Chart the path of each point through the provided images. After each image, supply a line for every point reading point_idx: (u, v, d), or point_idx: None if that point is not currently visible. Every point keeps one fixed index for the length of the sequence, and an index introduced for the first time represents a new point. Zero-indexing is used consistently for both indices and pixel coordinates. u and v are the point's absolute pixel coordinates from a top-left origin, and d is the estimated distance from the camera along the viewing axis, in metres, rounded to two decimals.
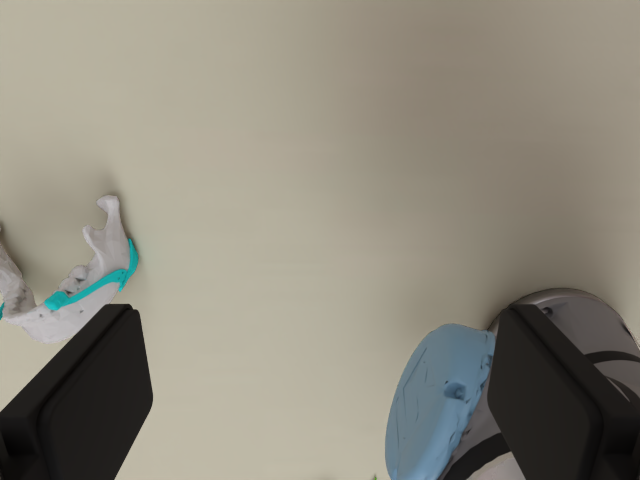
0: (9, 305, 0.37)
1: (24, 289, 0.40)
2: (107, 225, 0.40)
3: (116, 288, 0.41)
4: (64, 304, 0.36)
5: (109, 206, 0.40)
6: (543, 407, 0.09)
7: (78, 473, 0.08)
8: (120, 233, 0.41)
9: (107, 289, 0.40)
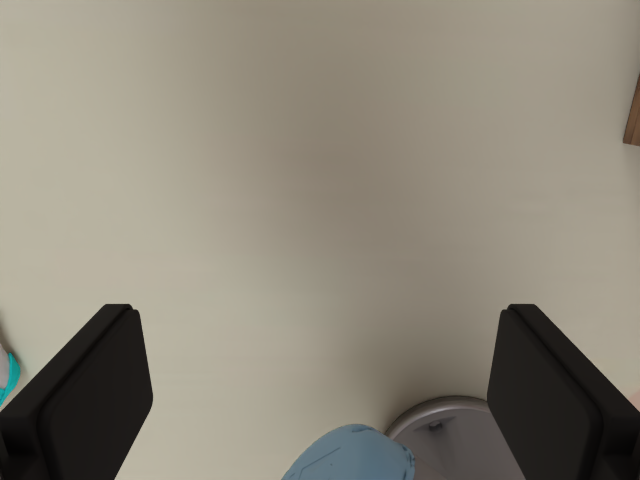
0: None
1: None
2: None
3: None
4: None
5: None
6: (543, 407, 0.09)
7: (78, 473, 0.08)
8: None
9: None
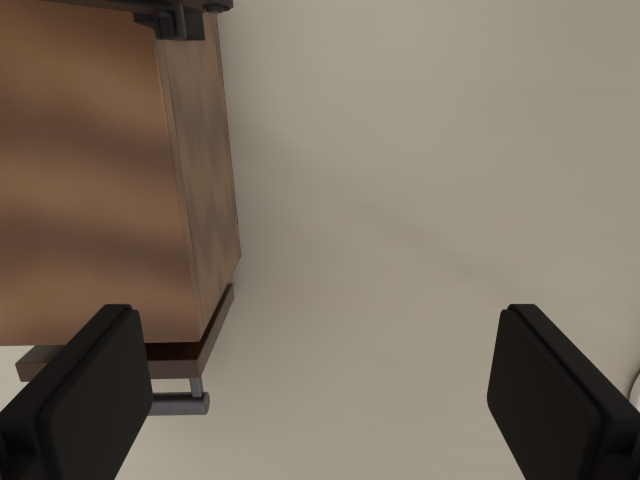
0: None
1: None
2: None
3: None
4: None
5: None
6: (543, 407, 0.09)
7: (78, 473, 0.08)
8: None
9: None
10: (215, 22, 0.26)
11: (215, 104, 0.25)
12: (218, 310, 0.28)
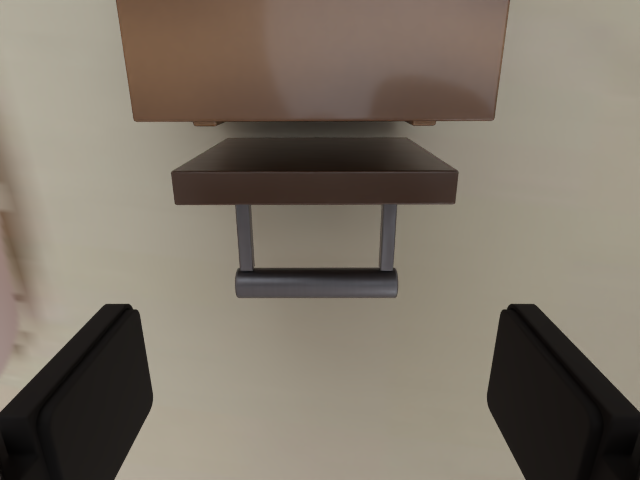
0: None
1: None
2: None
3: None
4: None
5: None
6: (543, 407, 0.09)
7: (78, 473, 0.08)
8: None
9: None
10: None
11: None
12: (421, 148, 0.19)
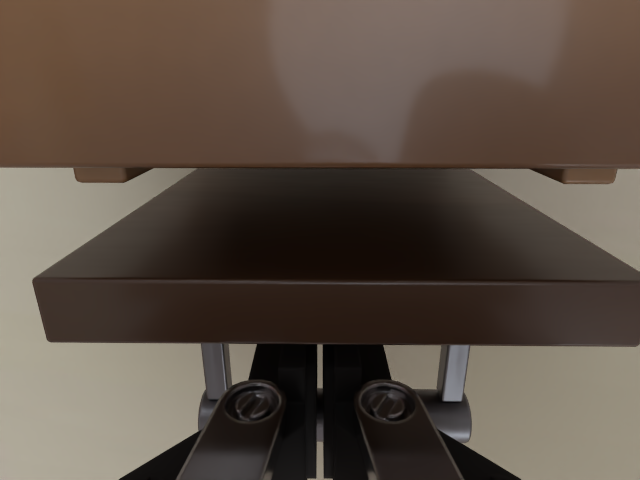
0: None
1: None
2: None
3: None
4: None
5: None
6: None
7: None
8: None
9: None
10: None
11: None
12: (512, 196, 0.12)
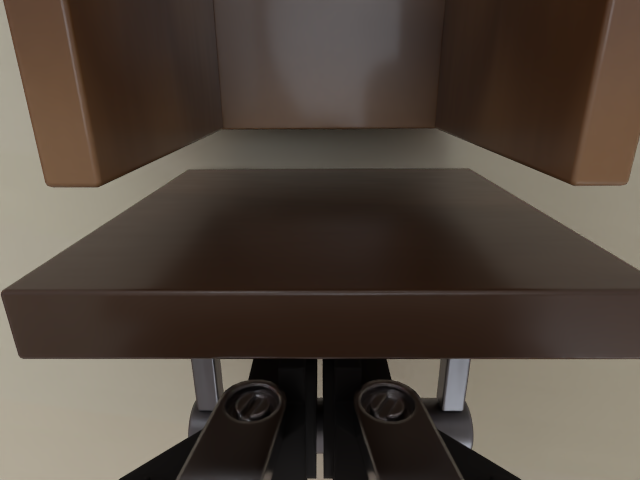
0: None
1: None
2: None
3: None
4: None
5: None
6: (323, 368, 0.10)
7: None
8: None
9: None
10: None
11: None
12: (515, 197, 0.11)
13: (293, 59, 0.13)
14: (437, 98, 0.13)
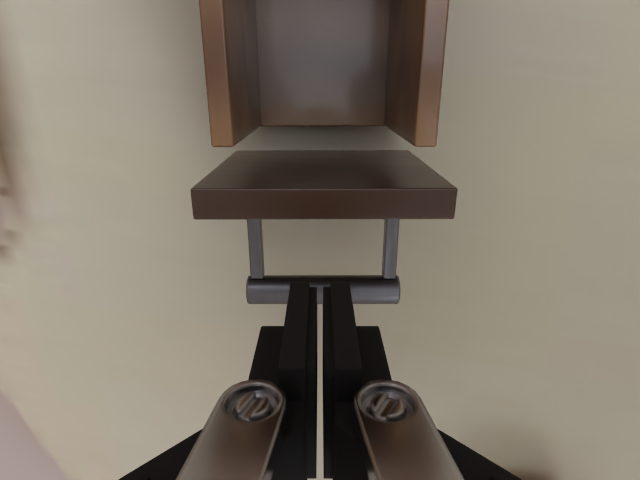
0: None
1: None
2: None
3: None
4: None
5: None
6: None
7: None
8: None
9: None
10: None
11: None
12: (422, 162, 0.21)
13: (302, 86, 0.22)
14: (385, 108, 0.22)
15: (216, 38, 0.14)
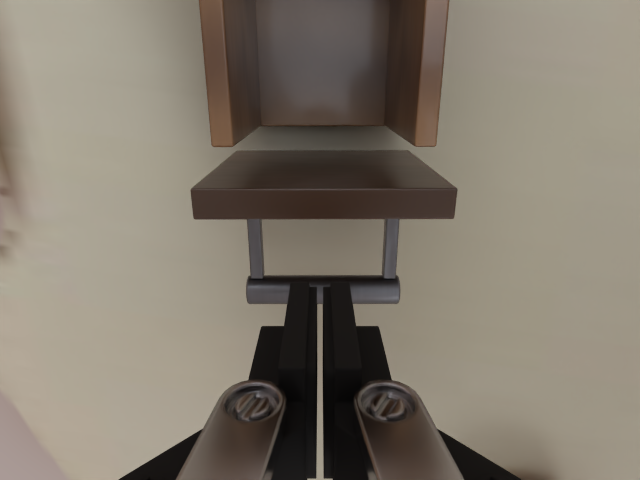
0: None
1: None
2: None
3: None
4: None
5: None
6: None
7: None
8: None
9: None
10: None
11: None
12: (422, 162, 0.21)
13: (302, 86, 0.22)
14: (385, 108, 0.22)
15: (216, 38, 0.14)
